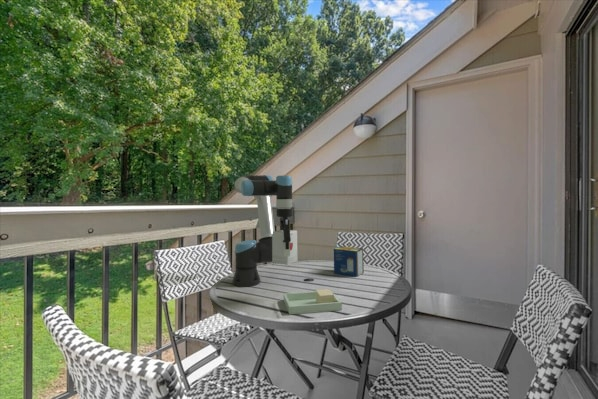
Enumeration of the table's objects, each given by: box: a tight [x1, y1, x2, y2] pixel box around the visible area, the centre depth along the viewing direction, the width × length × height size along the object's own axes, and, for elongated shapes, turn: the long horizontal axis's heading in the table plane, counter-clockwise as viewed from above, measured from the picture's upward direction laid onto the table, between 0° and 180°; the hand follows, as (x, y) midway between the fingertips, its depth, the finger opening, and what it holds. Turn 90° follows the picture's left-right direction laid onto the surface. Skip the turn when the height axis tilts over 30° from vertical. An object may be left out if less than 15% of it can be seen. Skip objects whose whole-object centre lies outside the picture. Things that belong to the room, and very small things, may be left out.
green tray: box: [283, 290, 343, 315], centre depth 135 cm, size 17×22×4 cm
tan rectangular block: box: [315, 288, 335, 304], centre depth 137 cm, size 8×6×5 cm
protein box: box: [333, 245, 365, 278], centre depth 191 cm, size 10×15×16 cm
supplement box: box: [271, 229, 298, 266], centre depth 148 cm, size 9×9×15 cm
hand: (285, 253), depth 148 cm, fingers closed on supplement box, 12 cm apart
